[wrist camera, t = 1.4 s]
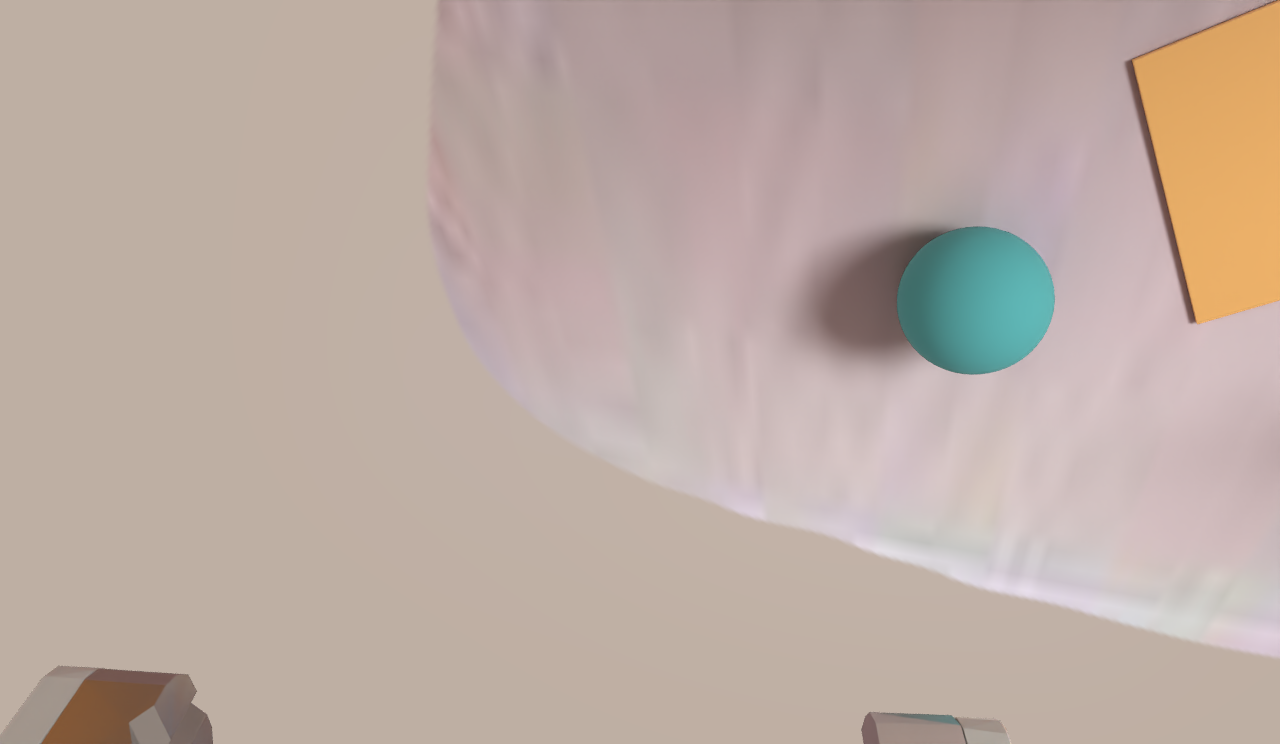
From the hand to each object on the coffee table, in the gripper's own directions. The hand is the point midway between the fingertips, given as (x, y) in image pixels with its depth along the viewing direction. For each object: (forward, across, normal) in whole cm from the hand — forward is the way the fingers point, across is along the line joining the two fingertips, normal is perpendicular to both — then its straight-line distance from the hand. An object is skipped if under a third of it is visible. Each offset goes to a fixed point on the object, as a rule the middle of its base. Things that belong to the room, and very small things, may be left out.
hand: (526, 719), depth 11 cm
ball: (+26, -14, +8) cm, 30 cm away
